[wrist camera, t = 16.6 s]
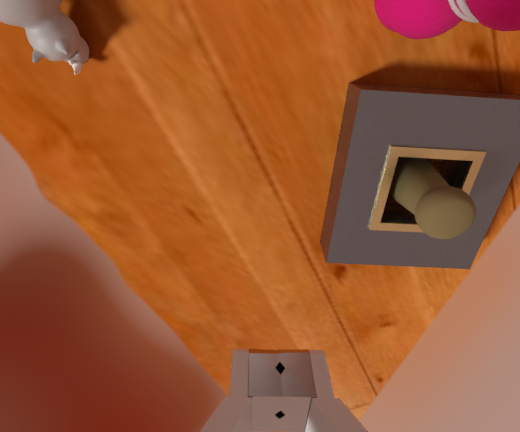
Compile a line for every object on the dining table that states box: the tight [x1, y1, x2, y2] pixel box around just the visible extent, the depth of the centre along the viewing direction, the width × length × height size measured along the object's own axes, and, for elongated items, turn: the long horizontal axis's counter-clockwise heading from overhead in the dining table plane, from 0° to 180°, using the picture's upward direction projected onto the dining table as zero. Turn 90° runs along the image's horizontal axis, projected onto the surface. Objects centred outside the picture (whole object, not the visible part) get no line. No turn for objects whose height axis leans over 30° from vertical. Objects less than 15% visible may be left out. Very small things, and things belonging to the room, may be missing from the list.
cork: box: [388, 157, 476, 239], centre depth 35 cm, size 6×6×11 cm
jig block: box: [320, 83, 520, 269], centre depth 38 cm, size 20×18×5 cm
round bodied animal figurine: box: [0, 0, 89, 75], centre depth 28 cm, size 7×12×8 cm, turn 13°
